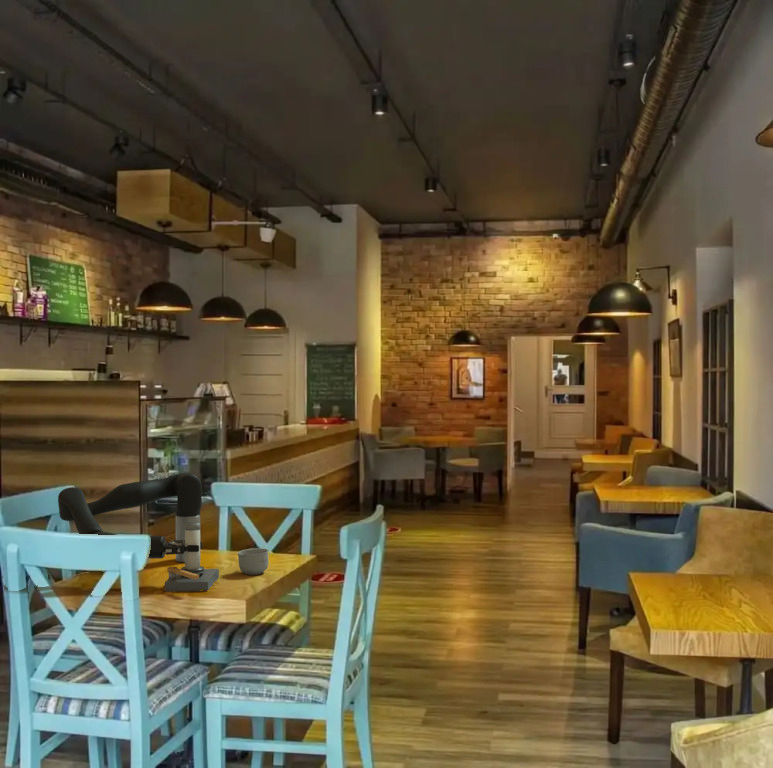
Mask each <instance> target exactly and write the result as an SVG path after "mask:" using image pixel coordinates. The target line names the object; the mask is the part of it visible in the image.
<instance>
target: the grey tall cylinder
mask: <svg viewBox="0 0 773 768" xmlns="http://www.w3.org/2000/svg"><path fill="white" fill-rule="evenodd" d="M200 542H201V521H200V522H188V523H185V545H187V546H188V545H199V551H198V552H188V551H187V553H185V562H184V566H183V567H181V568H180V569H181V570H184V571H188V572H191V573H194V574H197V575H199V577H200V572H203V571H204V569H205V567H204V566H202V565H201V549H200Z"/></svg>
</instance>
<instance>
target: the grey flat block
mask: <svg viewBox="0 0 773 768" xmlns="http://www.w3.org/2000/svg"><path fill="white" fill-rule="evenodd" d="M218 577H220V569H219V568H204V571H203V572H200V577H199V579H195V580H194V579H191V578H188V577H185V576H182V575H179V574H176V573H173V572H168V578H167V580H165V582H164V592H201V591H200V590H209V591H210V589H211V588H212V587H213V585H214V584H215V583H216V582H217V580H218V579H219V578H218ZM215 581H216V582H215ZM214 582H215V583H214ZM213 583H214V584H213ZM211 586H212V587H211ZM210 587H211V588H210ZM209 588H210V589H209Z"/></svg>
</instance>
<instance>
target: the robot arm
mask: <svg viewBox="0 0 773 768" xmlns="http://www.w3.org/2000/svg"><path fill="white" fill-rule="evenodd" d="M202 494H203V487H202V481H201V479H200V478H199V476H198V475H196V474H193V473H190V472H182V473H179V474H175V475H173V476H169V477H165V478H160V479H149V480H141V481H134V482H129V483H127V482H126V483H122V484H119V485H117V486H116V487H114V488H113V489H112V490H110V491H109V492H108V493H107V494H105V495H104V496H102V497H100V499H97V500H94V501H91V502H88V503H87V501H86V496H85V493H84V491H83V490H82V489H80V488H79V487H75V486H73V487H65V488H64V489H62V490H61V491H60V492H59V493H58V496H57V504H58V512H59V517H60V519H61V520H63V521H64V522H65V521H66V522H74V525H75V528H76V530H77V533H78V534H98V535H117V534H115V533H112V532H107V531H103V528H101V526H100V524H99V523H98V521H97V520H96V519H95V517H94V516H98V515H101V514H105V513H109V512H115V511H121V510H125V509H127V510H128V509H133V508H138V507H142V506H145V505H148V504H152V503H153V502H156V501H158V500H161V499H164V498H172V497H177V500H176V502H177V503H176V507H175V539H172V540H169V541H166V540H167V539H166V537H165V536H164V535H149V536H150V537H151V550H150V554H149V557H148V560H149V559H153V560H154V559H164V558H165V555H167V556H168V555H175V562H177V563H178V562H180V563H185V553H187V551H188V552H198V551H199V545H188V546H187V545H185V523H188V522H200V523H201V510H202V509H201V508H202V505H203V503H202V499H203V498H202V497H203V495H202ZM201 549H203V542H202V541H200V550H201Z"/></svg>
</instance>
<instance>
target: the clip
mask: <svg viewBox="0 0 773 768" xmlns="http://www.w3.org/2000/svg"><path fill="white" fill-rule="evenodd" d="M166 571H167V573H169V572H173V573H176V574H179V575H182V576H185V577H188V578H191V579H194V580H195V579H199V575H197V574H194V573H191V572H188V571H184V570H181V568H178V566H168V567H167V569H166Z"/></svg>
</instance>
